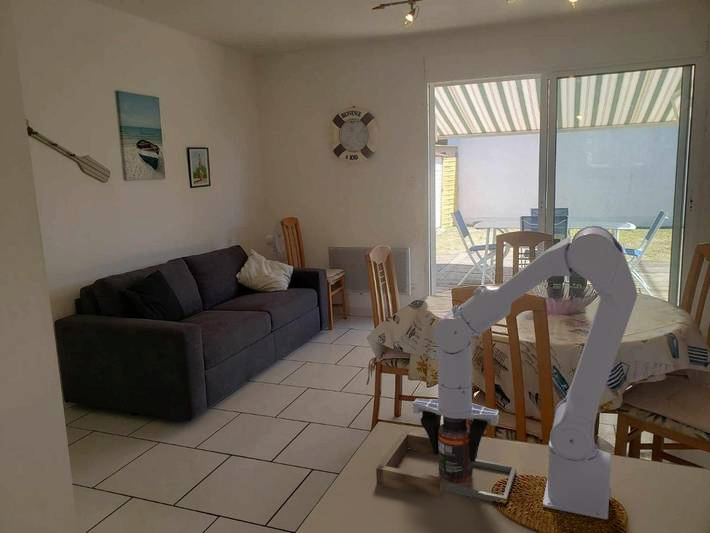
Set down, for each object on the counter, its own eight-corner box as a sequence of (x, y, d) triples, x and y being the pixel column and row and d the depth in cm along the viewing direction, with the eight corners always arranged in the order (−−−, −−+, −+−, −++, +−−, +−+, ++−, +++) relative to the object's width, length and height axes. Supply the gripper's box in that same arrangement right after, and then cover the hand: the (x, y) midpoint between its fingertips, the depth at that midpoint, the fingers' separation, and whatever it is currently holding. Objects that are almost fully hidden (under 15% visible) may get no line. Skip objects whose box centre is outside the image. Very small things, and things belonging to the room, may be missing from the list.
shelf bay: (459, 454, 105) (459, 440, 104) (438, 497, 92) (438, 481, 91) (404, 444, 109) (403, 430, 109) (376, 483, 96) (376, 468, 96)
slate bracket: (515, 471, 98) (516, 466, 98) (506, 504, 89) (506, 498, 89) (462, 461, 102) (462, 456, 102) (448, 491, 93) (448, 486, 93)
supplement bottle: (469, 465, 101) (469, 407, 99) (475, 484, 95) (475, 423, 93) (436, 466, 101) (435, 408, 99) (440, 485, 95) (440, 424, 93)
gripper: (502, 379, 95) (501, 451, 98) (421, 369, 101) (422, 437, 104) (494, 395, 89) (493, 472, 91) (408, 383, 95) (410, 456, 97)
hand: (455, 455), depth 97 cm, fingers closed on supplement bottle, 6 cm apart
